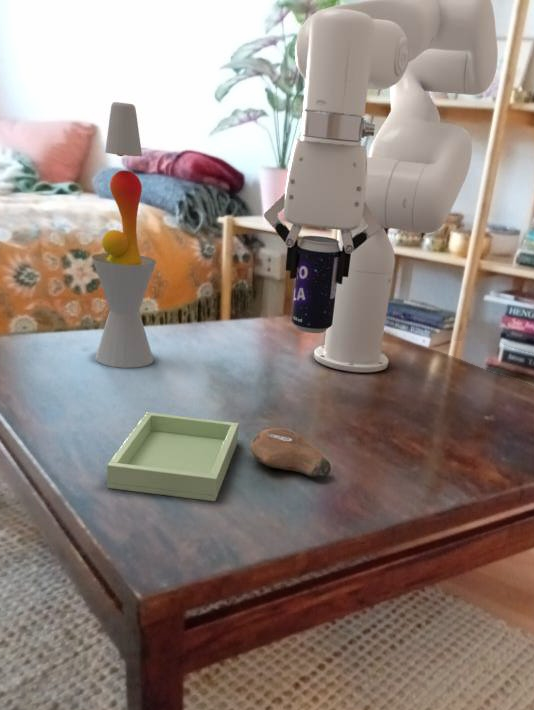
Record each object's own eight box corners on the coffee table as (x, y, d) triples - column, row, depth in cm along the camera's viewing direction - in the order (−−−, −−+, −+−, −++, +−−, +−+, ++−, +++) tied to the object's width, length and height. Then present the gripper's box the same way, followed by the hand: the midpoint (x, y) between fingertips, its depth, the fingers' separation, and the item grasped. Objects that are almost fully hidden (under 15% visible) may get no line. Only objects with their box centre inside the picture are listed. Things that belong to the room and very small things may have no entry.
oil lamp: (265, 493, 75) (333, 488, 78) (270, 462, 73) (340, 458, 76) (242, 449, 82) (305, 446, 85) (246, 419, 80) (311, 416, 83)
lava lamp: (132, 347, 114) (132, 104, 99) (166, 362, 109) (171, 108, 93) (82, 354, 108) (74, 97, 92) (115, 371, 103) (112, 101, 87)
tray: (146, 432, 84) (146, 411, 83) (237, 443, 84) (238, 423, 83) (107, 488, 71) (107, 465, 70) (215, 501, 71) (216, 478, 70)
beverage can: (306, 320, 101) (315, 234, 96) (339, 330, 98) (350, 241, 93) (282, 327, 97) (290, 237, 91) (316, 337, 94) (326, 244, 89)
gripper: (399, 137, 89) (378, 280, 98) (265, 122, 90) (256, 267, 98) (403, 138, 83) (380, 292, 91) (258, 123, 83) (249, 278, 92)
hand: (316, 278), depth 95 cm, fingers closed on beverage can, 5 cm apart
